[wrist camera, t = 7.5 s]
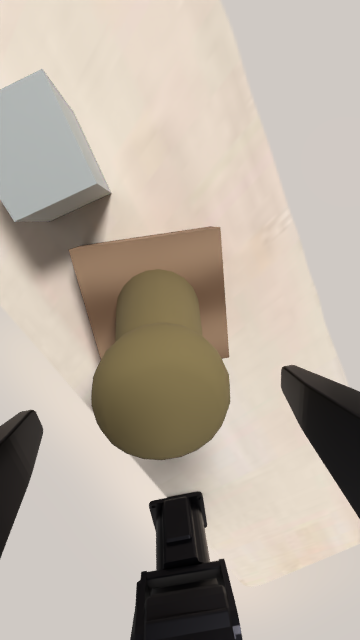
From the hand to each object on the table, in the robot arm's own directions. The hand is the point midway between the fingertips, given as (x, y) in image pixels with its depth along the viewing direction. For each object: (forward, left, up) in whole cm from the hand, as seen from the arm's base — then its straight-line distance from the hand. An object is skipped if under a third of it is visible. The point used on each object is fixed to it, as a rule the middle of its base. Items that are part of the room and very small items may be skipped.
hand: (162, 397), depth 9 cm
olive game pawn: (0, 0, -10) cm, 10 cm away
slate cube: (+10, +5, -13) cm, 17 cm away
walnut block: (0, 0, -13) cm, 13 cm away
